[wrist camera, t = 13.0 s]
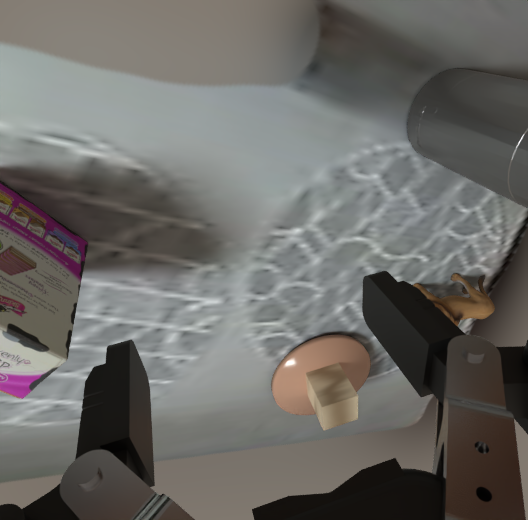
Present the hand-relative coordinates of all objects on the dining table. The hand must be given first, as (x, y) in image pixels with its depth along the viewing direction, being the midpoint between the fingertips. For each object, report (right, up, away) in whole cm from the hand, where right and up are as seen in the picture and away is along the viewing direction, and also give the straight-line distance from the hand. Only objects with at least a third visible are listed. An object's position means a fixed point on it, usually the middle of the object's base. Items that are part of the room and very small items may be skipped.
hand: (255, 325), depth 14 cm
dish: (+8, -14, +46) cm, 49 cm away
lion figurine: (+24, -2, +44) cm, 50 cm away
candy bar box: (-22, +6, +24) cm, 33 cm away
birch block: (+9, -15, +45) cm, 48 cm away
